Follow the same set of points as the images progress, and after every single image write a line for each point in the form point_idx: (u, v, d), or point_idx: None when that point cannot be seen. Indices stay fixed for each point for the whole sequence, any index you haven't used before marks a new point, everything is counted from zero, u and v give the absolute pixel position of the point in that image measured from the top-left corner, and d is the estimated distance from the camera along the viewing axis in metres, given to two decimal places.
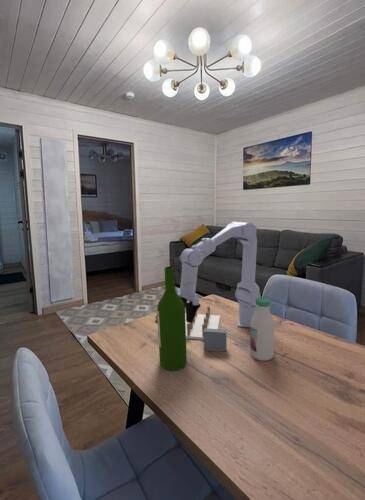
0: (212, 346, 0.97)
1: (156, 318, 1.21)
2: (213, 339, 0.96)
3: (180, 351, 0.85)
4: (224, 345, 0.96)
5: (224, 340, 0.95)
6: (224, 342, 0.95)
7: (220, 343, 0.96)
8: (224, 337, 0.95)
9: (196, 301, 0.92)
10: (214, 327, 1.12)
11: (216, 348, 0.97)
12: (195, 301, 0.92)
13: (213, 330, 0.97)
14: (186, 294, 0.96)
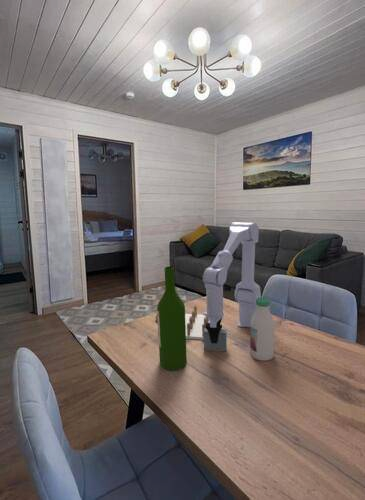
0: (212, 346, 0.97)
1: (156, 318, 1.21)
2: None
3: (180, 351, 0.85)
4: (224, 345, 0.96)
5: (224, 340, 0.95)
6: (224, 342, 0.95)
7: (220, 343, 0.96)
8: (224, 337, 0.95)
9: (213, 323, 0.89)
10: None
11: (216, 348, 0.97)
12: (211, 323, 0.89)
13: None
14: (209, 314, 0.93)
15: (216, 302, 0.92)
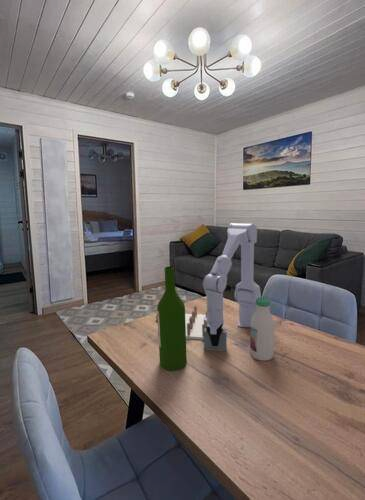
0: (212, 346, 0.97)
1: None
2: None
3: (180, 351, 0.85)
4: (224, 345, 0.96)
5: (224, 340, 0.95)
6: (224, 342, 0.95)
7: (220, 343, 0.96)
8: (224, 337, 0.95)
9: (213, 330, 0.89)
10: None
11: (216, 348, 0.96)
12: (212, 330, 0.89)
13: None
14: (209, 320, 0.94)
15: (216, 309, 0.92)
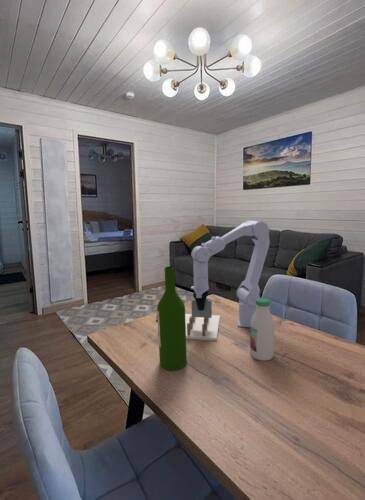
0: (199, 314, 1.10)
1: None
2: None
3: (180, 351, 0.85)
4: (209, 312, 1.09)
5: (209, 308, 1.08)
6: (209, 310, 1.08)
7: (205, 311, 1.09)
8: (209, 305, 1.08)
9: (198, 294, 1.02)
10: (214, 327, 1.12)
11: (202, 315, 1.09)
12: (197, 294, 1.02)
13: None
14: (196, 287, 1.07)
15: (197, 276, 1.05)
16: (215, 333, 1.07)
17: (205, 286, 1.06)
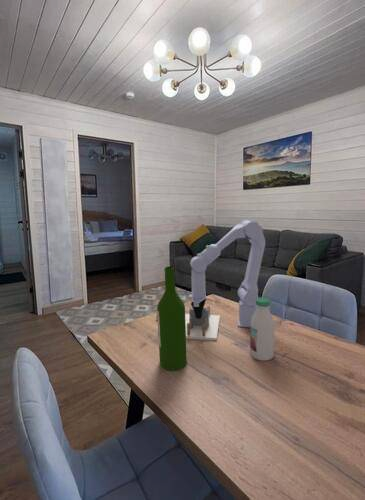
0: (196, 323, 1.14)
1: None
2: None
3: (180, 351, 0.85)
4: (207, 321, 1.13)
5: (207, 317, 1.12)
6: (207, 319, 1.12)
7: (203, 320, 1.13)
8: (206, 314, 1.12)
9: (196, 303, 1.06)
10: (214, 327, 1.12)
11: (200, 324, 1.13)
12: (195, 303, 1.06)
13: None
14: (194, 296, 1.10)
15: (194, 285, 1.09)
16: (215, 333, 1.07)
17: (202, 295, 1.10)
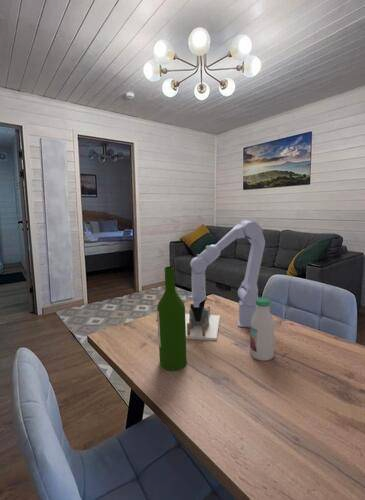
0: (196, 323, 1.14)
1: None
2: None
3: (180, 351, 0.85)
4: (207, 321, 1.13)
5: (207, 317, 1.12)
6: (207, 319, 1.12)
7: (203, 320, 1.13)
8: (206, 314, 1.12)
9: (196, 304, 1.06)
10: (214, 327, 1.12)
11: (200, 324, 1.13)
12: (195, 304, 1.06)
13: None
14: (194, 297, 1.10)
15: (194, 286, 1.09)
16: (215, 333, 1.07)
17: (203, 296, 1.10)
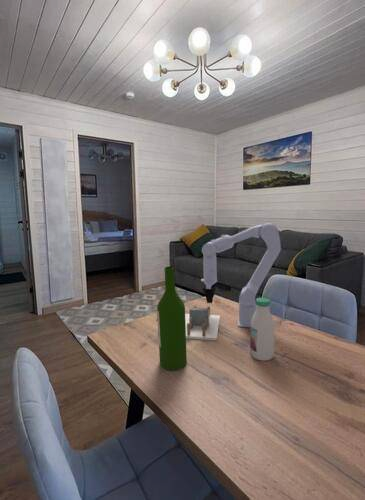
0: (196, 323, 1.14)
1: None
2: (197, 316, 1.13)
3: (180, 351, 0.85)
4: (207, 321, 1.13)
5: (207, 317, 1.12)
6: (207, 319, 1.12)
7: (203, 320, 1.13)
8: (206, 314, 1.12)
9: (208, 285, 1.12)
10: (214, 327, 1.12)
11: (200, 324, 1.13)
12: (207, 285, 1.12)
13: (197, 309, 1.14)
14: (206, 279, 1.16)
15: (204, 269, 1.16)
16: (215, 333, 1.07)
17: (214, 278, 1.16)
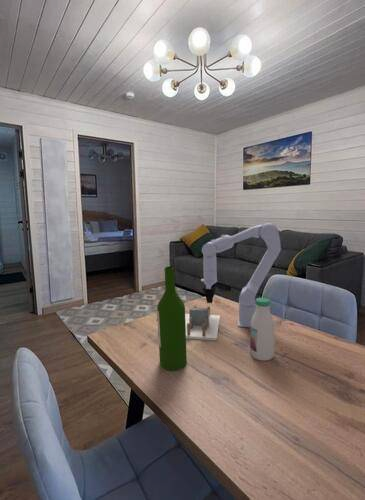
0: (196, 323, 1.14)
1: None
2: (197, 316, 1.13)
3: (180, 351, 0.85)
4: (207, 321, 1.13)
5: (207, 317, 1.12)
6: (207, 319, 1.12)
7: (203, 320, 1.13)
8: (206, 314, 1.12)
9: (208, 285, 1.12)
10: (214, 327, 1.12)
11: (200, 324, 1.13)
12: (207, 285, 1.12)
13: (197, 309, 1.14)
14: (206, 279, 1.16)
15: (204, 269, 1.16)
16: (215, 333, 1.07)
17: (214, 278, 1.16)
